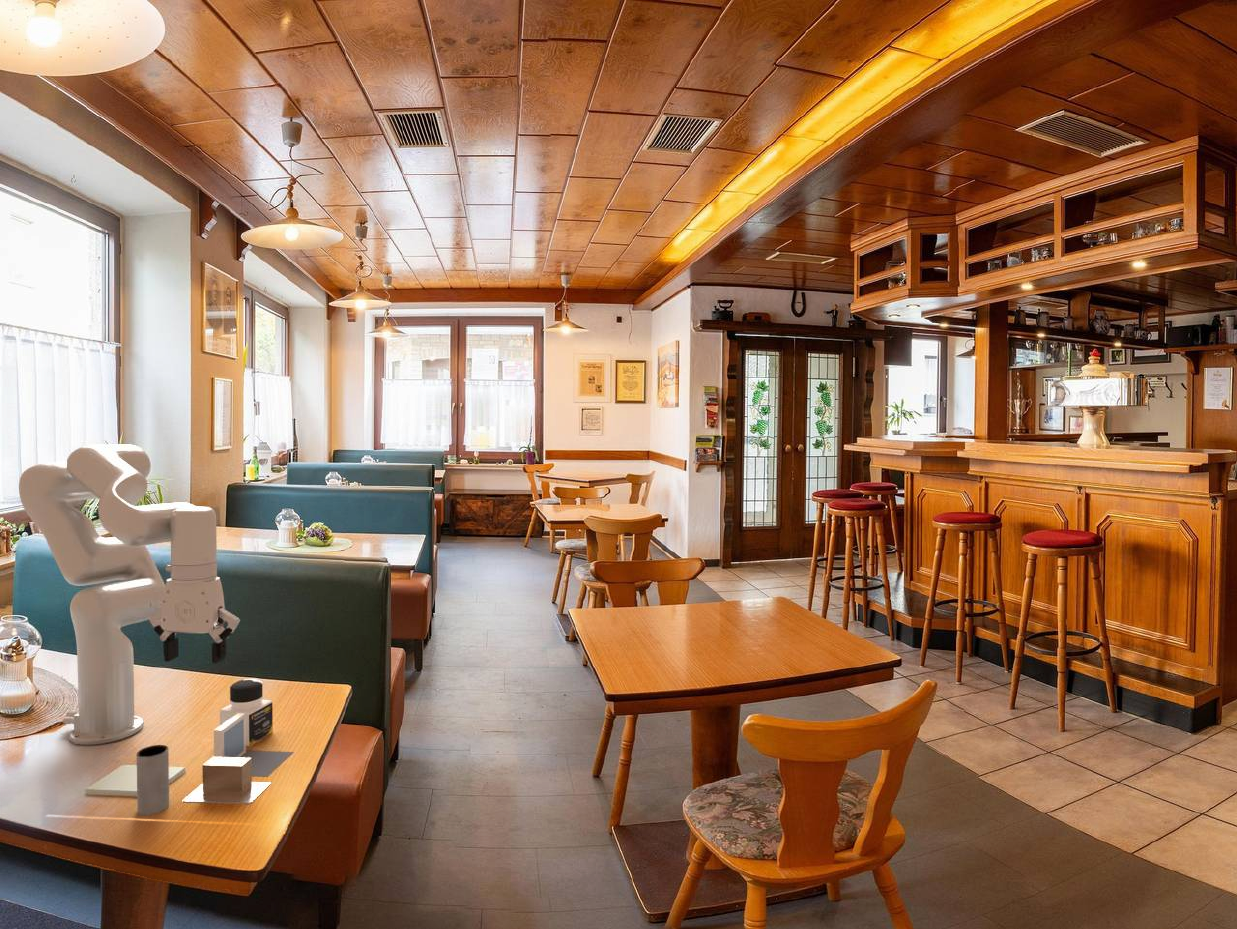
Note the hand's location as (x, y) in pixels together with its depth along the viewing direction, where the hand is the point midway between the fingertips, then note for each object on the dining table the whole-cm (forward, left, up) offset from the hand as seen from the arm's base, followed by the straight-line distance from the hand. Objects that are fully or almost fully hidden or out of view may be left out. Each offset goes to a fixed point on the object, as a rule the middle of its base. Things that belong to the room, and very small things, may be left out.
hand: (195, 660), depth 138 cm
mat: (+11, 0, -20) cm, 23 cm away
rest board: (-5, -9, -20) cm, 23 cm away
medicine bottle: (+4, +11, -20) cm, 23 cm away
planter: (+4, -17, -20) cm, 27 cm away
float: (+13, -11, -20) cm, 27 cm away
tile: (+7, 0, -20) cm, 21 cm away
